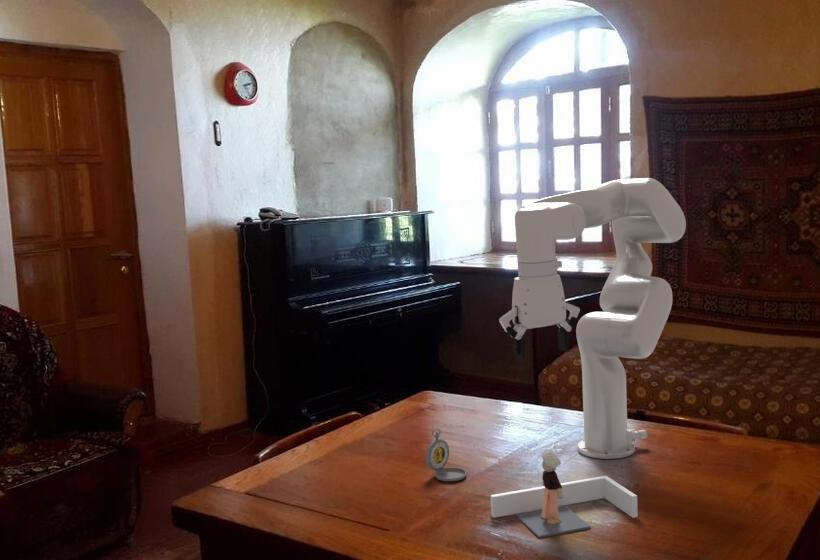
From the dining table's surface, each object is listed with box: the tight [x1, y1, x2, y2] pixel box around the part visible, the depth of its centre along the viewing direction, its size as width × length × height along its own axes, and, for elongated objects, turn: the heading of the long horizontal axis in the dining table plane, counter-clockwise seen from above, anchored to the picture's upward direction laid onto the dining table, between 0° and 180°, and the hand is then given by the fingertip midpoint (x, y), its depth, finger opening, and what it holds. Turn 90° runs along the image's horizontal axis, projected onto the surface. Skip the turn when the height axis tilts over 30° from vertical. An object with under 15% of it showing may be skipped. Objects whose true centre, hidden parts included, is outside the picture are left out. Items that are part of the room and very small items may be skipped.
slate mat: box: [515, 505, 592, 539], centre depth 145 cm, size 10×10×1 cm
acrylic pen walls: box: [490, 475, 639, 519], centre depth 147 cm, size 24×11×4 cm, turn 106°
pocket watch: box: [425, 427, 467, 482], centre depth 170 cm, size 8×8×10 cm
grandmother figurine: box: [541, 451, 563, 524], centre depth 144 cm, size 8×4×13 cm, turn 25°
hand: (542, 353), depth 161 cm, fingers open, 9 cm apart
